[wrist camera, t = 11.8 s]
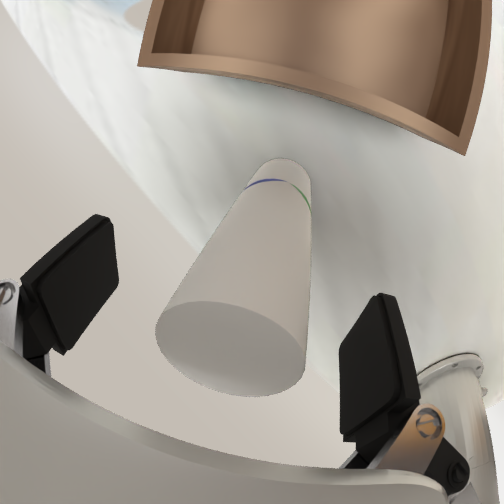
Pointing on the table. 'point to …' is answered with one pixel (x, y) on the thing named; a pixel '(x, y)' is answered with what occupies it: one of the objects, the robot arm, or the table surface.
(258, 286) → the tube
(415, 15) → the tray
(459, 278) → the table surface
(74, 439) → the robot arm
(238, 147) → the table surface
